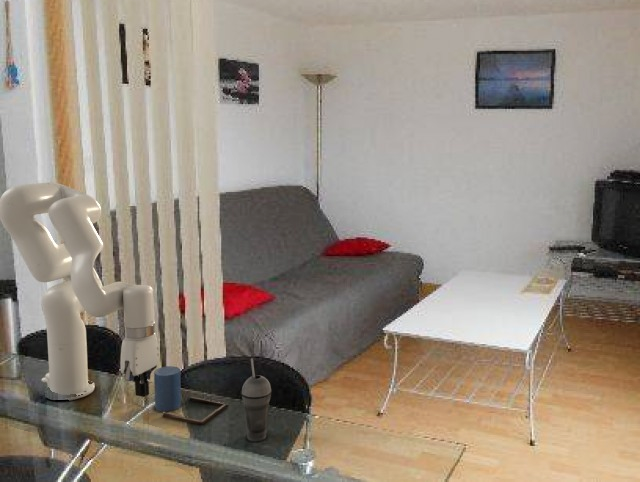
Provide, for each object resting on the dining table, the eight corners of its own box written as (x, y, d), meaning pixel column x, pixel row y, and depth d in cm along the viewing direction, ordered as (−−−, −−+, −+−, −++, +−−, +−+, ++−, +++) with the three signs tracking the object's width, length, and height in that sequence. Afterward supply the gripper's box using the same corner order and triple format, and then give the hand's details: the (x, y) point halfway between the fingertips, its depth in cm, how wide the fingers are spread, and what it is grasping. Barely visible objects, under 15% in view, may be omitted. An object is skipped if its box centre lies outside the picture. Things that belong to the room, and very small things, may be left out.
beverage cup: (264, 445, 145) (264, 365, 142) (236, 442, 146) (235, 362, 143) (276, 431, 152) (276, 355, 149) (249, 428, 153) (248, 352, 150)
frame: (162, 417, 158) (162, 414, 157) (191, 399, 169) (191, 396, 169) (201, 425, 154) (201, 422, 154) (228, 406, 165) (228, 403, 165)
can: (149, 409, 162) (148, 373, 161) (166, 399, 168) (165, 364, 167) (170, 413, 160) (169, 377, 159) (186, 403, 166) (185, 368, 165)
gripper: (147, 321, 172) (150, 383, 175) (107, 337, 158) (110, 404, 161) (169, 324, 170) (171, 386, 172) (131, 341, 156) (133, 408, 158)
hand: (142, 395), depth 166 cm, fingers closed
